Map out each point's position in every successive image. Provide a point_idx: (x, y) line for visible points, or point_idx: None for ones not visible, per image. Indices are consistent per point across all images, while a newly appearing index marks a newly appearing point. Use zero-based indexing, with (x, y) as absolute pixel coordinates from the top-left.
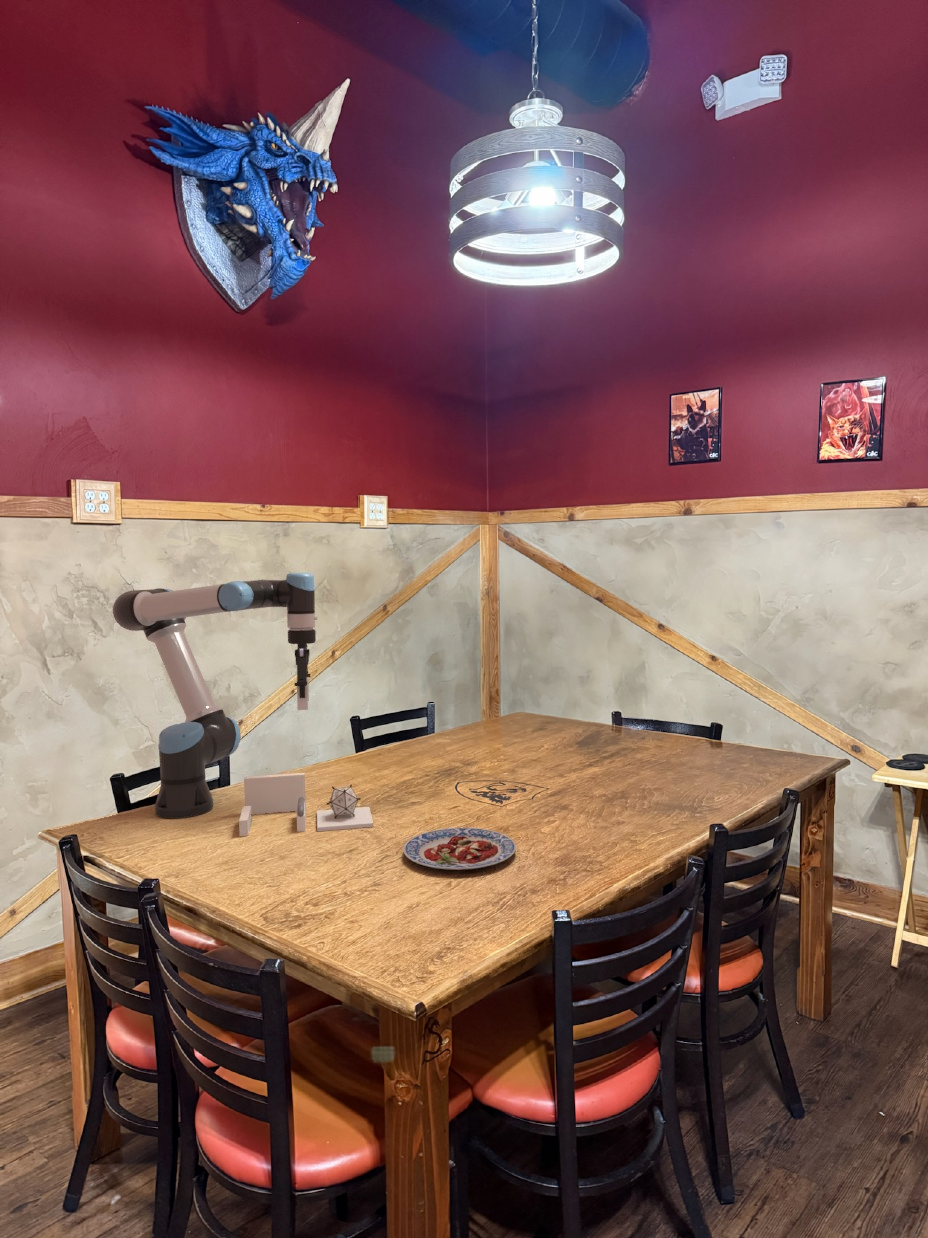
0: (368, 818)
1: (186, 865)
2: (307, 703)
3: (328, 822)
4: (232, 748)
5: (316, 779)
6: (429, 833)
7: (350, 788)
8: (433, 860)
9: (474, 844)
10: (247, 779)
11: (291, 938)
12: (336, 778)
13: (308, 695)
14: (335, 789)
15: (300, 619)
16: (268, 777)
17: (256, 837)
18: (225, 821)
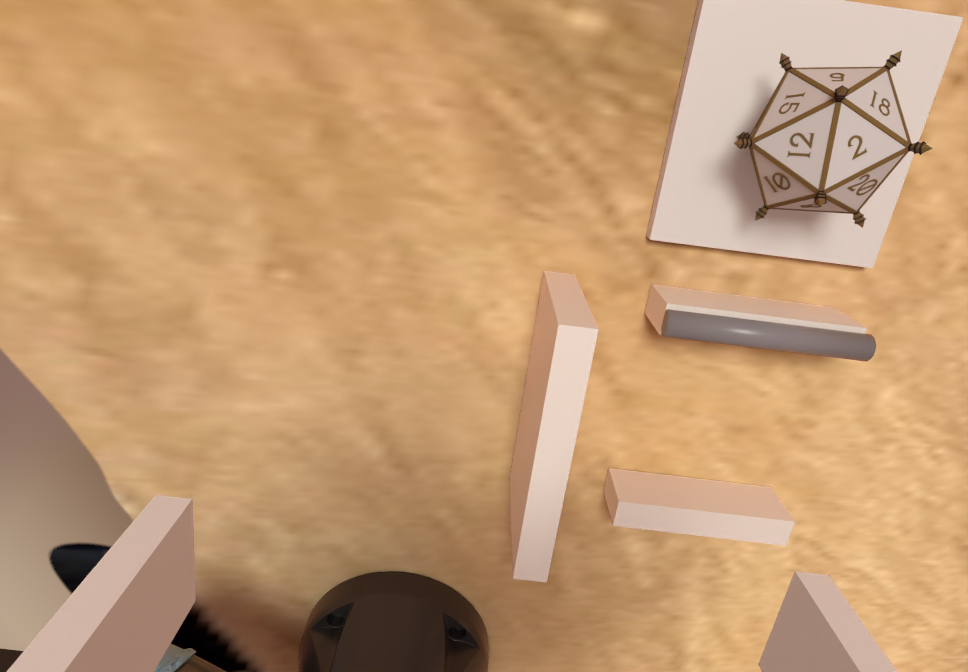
0: (886, 25)
1: (926, 635)
2: (870, 640)
3: (834, 215)
4: (176, 663)
5: (73, 163)
6: None
7: (851, 100)
8: None
9: None
10: (549, 567)
11: None
12: (69, 54)
13: (156, 551)
14: (837, 188)
15: None
16: (565, 490)
17: (798, 463)
18: (575, 540)
